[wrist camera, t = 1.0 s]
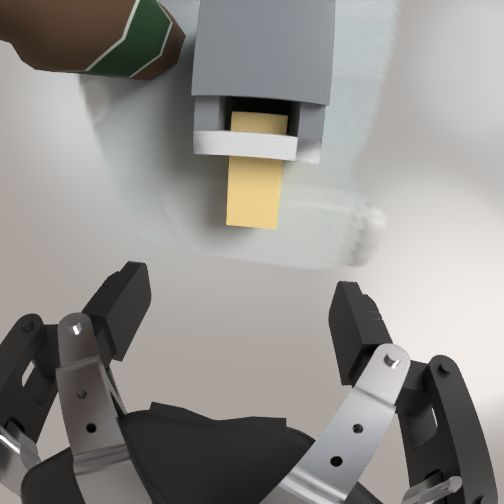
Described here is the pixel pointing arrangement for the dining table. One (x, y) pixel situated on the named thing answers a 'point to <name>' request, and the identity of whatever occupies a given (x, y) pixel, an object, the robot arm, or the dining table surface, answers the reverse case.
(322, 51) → the dispenser
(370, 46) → the dining table surface
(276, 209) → the yellow rectangular block
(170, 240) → the dining table surface
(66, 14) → the beer bottle
